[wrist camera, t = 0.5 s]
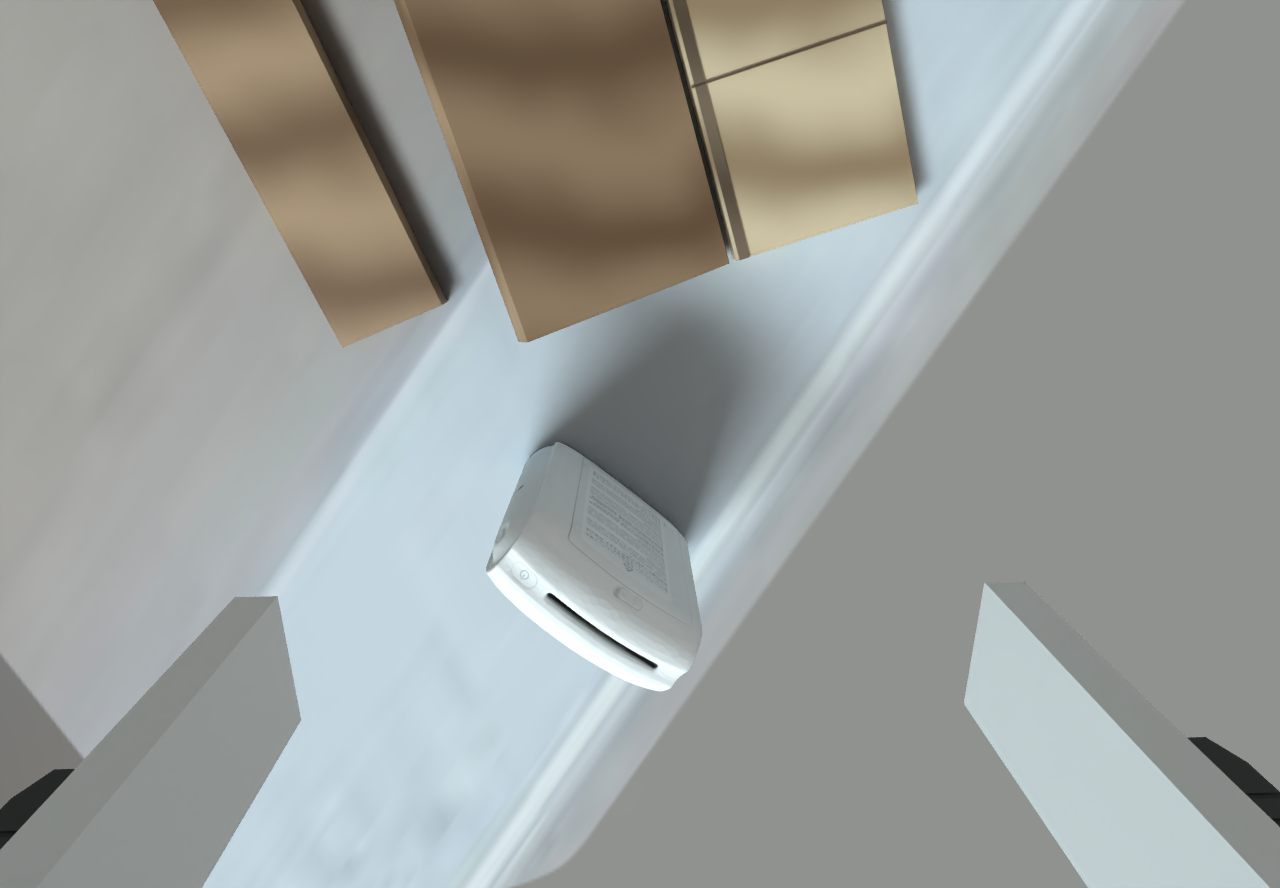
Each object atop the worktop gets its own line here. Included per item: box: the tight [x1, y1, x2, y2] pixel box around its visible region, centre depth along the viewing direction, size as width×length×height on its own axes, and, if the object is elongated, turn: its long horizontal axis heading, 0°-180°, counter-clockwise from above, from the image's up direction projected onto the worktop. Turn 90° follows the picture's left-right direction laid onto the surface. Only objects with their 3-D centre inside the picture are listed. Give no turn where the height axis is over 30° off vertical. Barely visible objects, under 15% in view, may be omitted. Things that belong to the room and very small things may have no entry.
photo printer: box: [486, 442, 702, 691], centre depth 35 cm, size 10×4×12 cm, turn 50°
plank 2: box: [394, 0, 729, 342], centre depth 31 cm, size 22×11×1 cm, turn 17°
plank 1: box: [153, 0, 447, 347], centre depth 34 cm, size 20×6×1 cm, turn 22°
